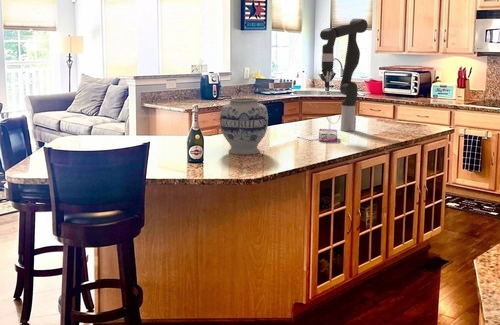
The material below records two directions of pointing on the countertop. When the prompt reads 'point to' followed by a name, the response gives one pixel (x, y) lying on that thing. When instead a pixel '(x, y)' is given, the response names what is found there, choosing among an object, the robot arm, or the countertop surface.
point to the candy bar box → (328, 135)
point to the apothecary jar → (244, 125)
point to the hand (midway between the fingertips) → (326, 87)
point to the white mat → (310, 137)
